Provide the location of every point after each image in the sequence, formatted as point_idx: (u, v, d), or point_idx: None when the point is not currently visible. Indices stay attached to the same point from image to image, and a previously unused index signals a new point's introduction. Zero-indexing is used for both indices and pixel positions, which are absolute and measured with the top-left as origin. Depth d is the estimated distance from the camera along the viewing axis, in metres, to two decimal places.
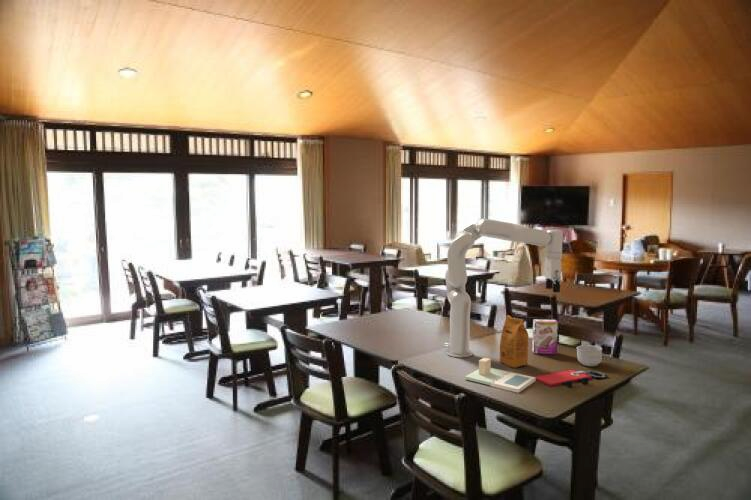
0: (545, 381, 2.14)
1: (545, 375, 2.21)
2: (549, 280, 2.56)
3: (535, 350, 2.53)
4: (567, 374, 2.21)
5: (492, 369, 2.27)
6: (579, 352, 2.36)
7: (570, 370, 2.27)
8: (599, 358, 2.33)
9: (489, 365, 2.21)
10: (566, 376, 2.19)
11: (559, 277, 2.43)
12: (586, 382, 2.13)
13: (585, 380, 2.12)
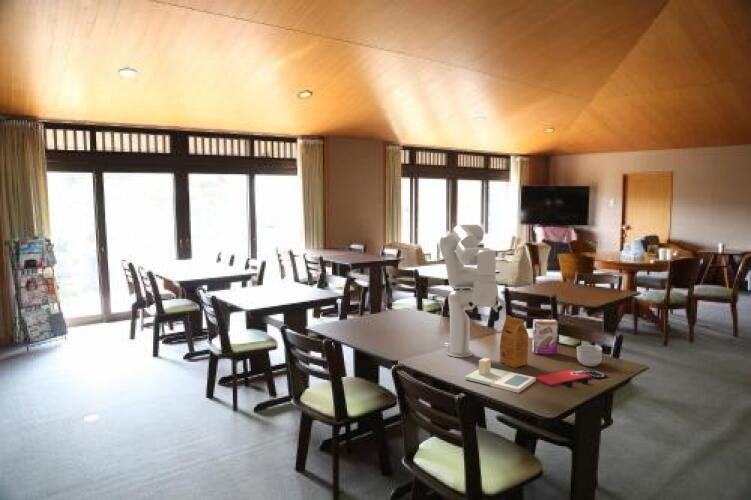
0: (545, 381, 2.14)
1: (545, 375, 2.21)
2: (475, 308, 2.22)
3: (535, 350, 2.53)
4: (566, 374, 2.22)
5: (492, 369, 2.27)
6: (579, 352, 2.36)
7: (569, 370, 2.27)
8: (599, 358, 2.33)
9: (489, 365, 2.21)
10: (566, 376, 2.20)
11: (504, 303, 2.13)
12: (586, 382, 2.13)
13: (585, 380, 2.13)
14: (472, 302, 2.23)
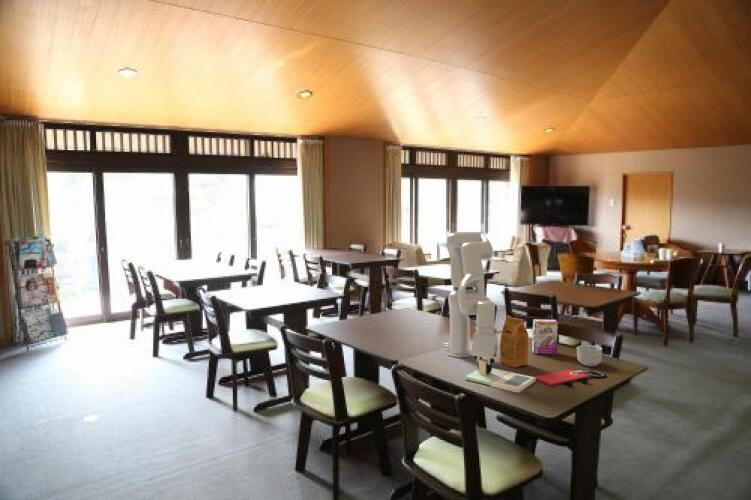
0: (545, 381, 2.14)
1: (545, 375, 2.22)
2: None
3: (535, 350, 2.53)
4: (566, 374, 2.22)
5: (492, 369, 2.27)
6: (579, 352, 2.36)
7: (569, 370, 2.28)
8: (599, 358, 2.33)
9: None
10: (566, 376, 2.20)
11: (498, 359, 2.17)
12: (586, 382, 2.13)
13: (585, 380, 2.13)
14: None
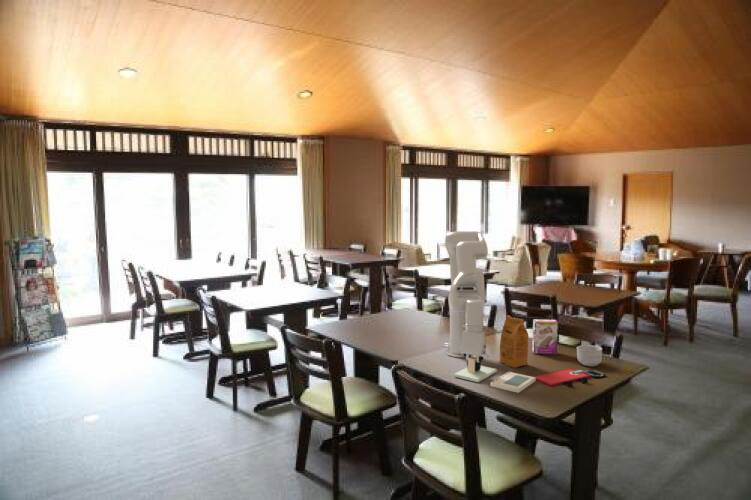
0: (545, 381, 2.14)
1: (545, 375, 2.22)
2: None
3: (535, 350, 2.53)
4: (566, 374, 2.22)
5: (481, 366, 2.30)
6: (579, 352, 2.36)
7: (569, 369, 2.28)
8: (599, 358, 2.33)
9: None
10: (566, 376, 2.20)
11: (486, 357, 2.21)
12: (586, 381, 2.14)
13: (585, 379, 2.13)
14: None
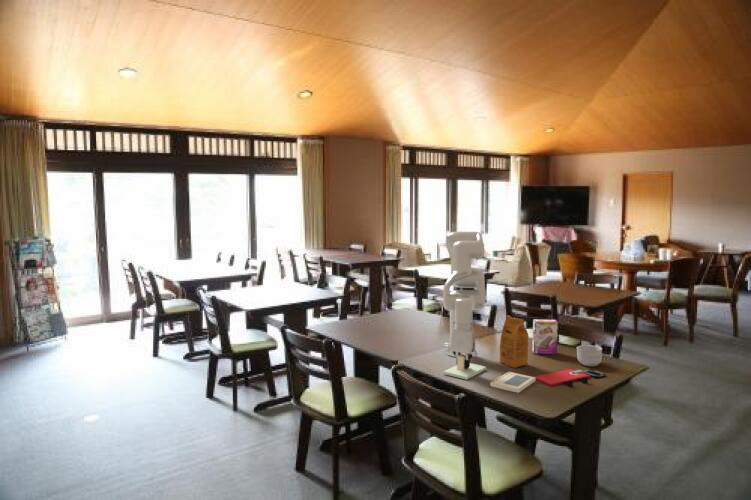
0: (545, 381, 2.14)
1: (544, 375, 2.22)
2: None
3: (535, 350, 2.53)
4: (566, 374, 2.22)
5: (471, 364, 2.34)
6: (579, 352, 2.36)
7: (568, 369, 2.28)
8: (599, 358, 2.33)
9: None
10: (565, 375, 2.20)
11: (475, 355, 2.24)
12: (586, 381, 2.14)
13: (585, 379, 2.13)
14: None
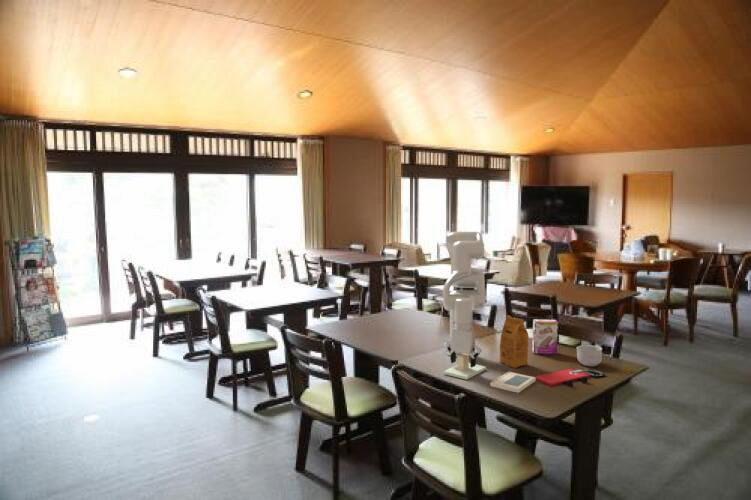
0: (545, 381, 2.14)
1: (544, 375, 2.22)
2: (453, 353, 2.31)
3: (535, 350, 2.53)
4: (566, 374, 2.22)
5: None
6: (579, 352, 2.36)
7: (568, 369, 2.28)
8: (599, 358, 2.33)
9: (467, 360, 2.28)
10: (565, 375, 2.20)
11: (480, 351, 2.22)
12: (586, 381, 2.14)
13: (585, 379, 2.14)
14: (450, 347, 2.32)
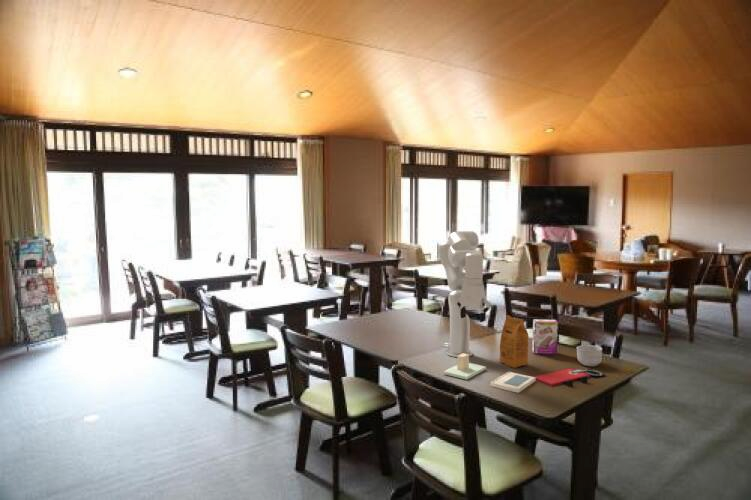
0: (545, 381, 2.15)
1: (544, 375, 2.22)
2: (463, 308, 2.31)
3: (535, 350, 2.53)
4: (565, 374, 2.22)
5: (471, 364, 2.34)
6: (579, 352, 2.36)
7: (568, 369, 2.28)
8: (599, 358, 2.33)
9: (467, 360, 2.28)
10: (565, 375, 2.20)
11: (490, 305, 2.22)
12: (586, 381, 2.14)
13: (585, 379, 2.14)
14: (460, 303, 2.32)
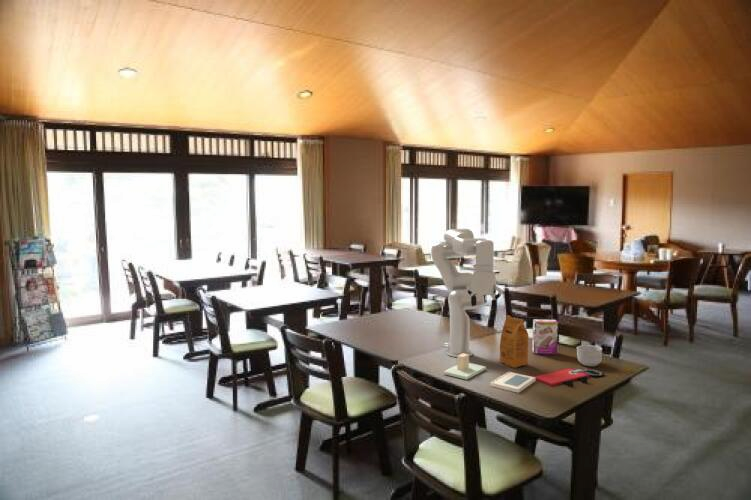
0: (545, 380, 2.15)
1: (544, 374, 2.22)
2: (474, 296, 2.31)
3: (535, 350, 2.53)
4: (565, 373, 2.23)
5: (471, 364, 2.34)
6: (579, 352, 2.36)
7: (567, 369, 2.29)
8: (599, 358, 2.33)
9: (467, 360, 2.28)
10: (565, 375, 2.21)
11: (501, 292, 2.22)
12: (585, 381, 2.14)
13: (585, 379, 2.14)
14: (471, 291, 2.32)
